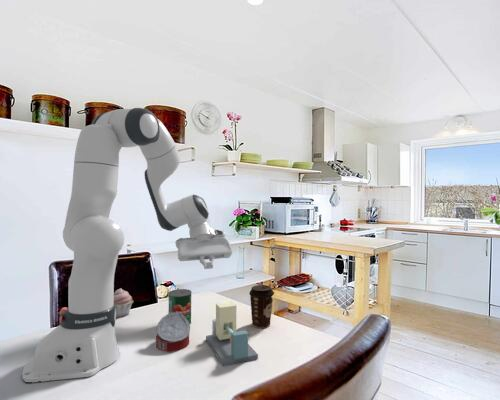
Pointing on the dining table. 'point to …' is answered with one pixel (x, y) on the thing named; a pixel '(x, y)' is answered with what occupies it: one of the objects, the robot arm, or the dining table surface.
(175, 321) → the canned food
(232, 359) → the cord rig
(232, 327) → the sleeve
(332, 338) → the dining table surface
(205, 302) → the dining table surface
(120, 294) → the cupcake
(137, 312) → the dining table surface
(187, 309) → the canned tomato
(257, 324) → the coffee cup
